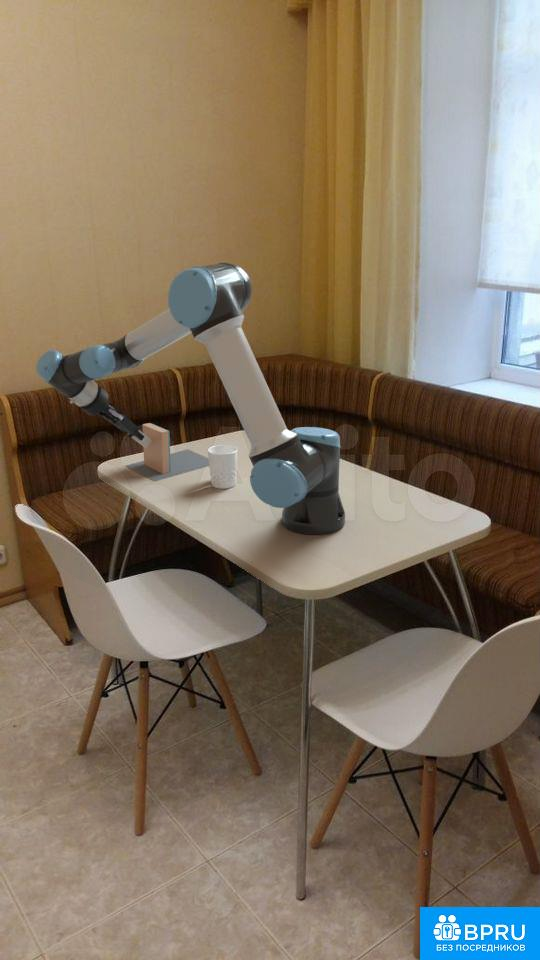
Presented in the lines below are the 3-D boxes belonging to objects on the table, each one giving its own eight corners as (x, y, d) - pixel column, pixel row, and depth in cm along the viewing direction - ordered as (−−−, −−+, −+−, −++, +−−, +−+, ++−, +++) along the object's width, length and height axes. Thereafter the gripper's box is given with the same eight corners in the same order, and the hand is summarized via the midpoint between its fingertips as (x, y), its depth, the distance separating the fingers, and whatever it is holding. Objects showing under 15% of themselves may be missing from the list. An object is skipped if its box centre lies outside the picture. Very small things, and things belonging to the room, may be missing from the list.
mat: (154, 483, 206) (154, 481, 206) (124, 467, 217) (124, 465, 217) (219, 464, 219) (219, 462, 219) (187, 451, 230) (187, 449, 230)
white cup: (225, 492, 200) (224, 456, 196) (203, 485, 204) (201, 450, 201) (244, 483, 206) (243, 448, 202) (222, 477, 210) (221, 442, 206)
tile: (163, 473, 211) (161, 432, 206) (144, 464, 218) (142, 424, 213) (170, 472, 212) (169, 431, 208) (151, 462, 219) (150, 422, 215)
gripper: (68, 402, 199) (128, 449, 215) (92, 412, 190) (153, 460, 206) (84, 379, 200) (142, 427, 216) (109, 388, 191) (168, 438, 207)
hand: (147, 443), depth 211 cm, fingers closed
